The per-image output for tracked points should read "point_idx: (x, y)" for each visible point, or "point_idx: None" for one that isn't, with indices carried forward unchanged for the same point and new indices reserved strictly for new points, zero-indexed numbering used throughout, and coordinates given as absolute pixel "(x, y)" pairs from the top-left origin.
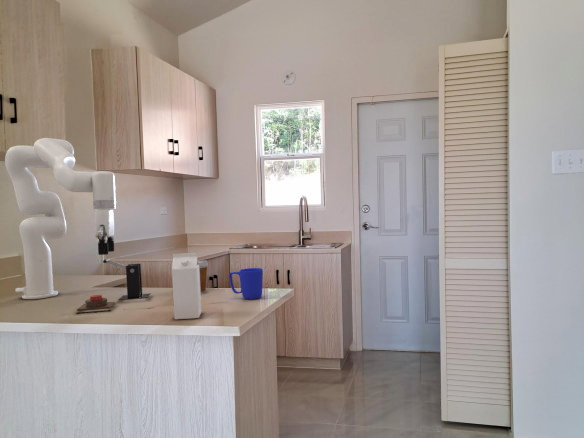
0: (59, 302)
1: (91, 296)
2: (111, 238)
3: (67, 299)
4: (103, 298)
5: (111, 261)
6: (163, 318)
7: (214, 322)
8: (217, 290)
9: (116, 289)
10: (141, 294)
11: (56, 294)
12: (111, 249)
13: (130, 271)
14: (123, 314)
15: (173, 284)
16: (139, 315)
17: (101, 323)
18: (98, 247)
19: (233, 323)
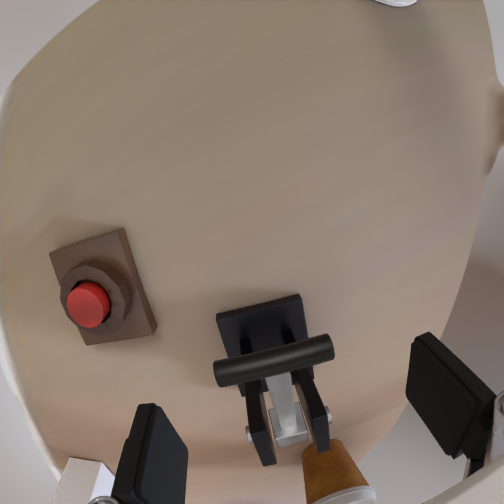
0: (264, 50)
1: (71, 297)
2: (467, 469)
3: (321, 56)
4: (111, 320)
5: (269, 389)
6: (72, 444)
7: None
8: None
9: (465, 183)
10: None
11: (388, 4)
12: (414, 393)
13: (246, 428)
14: (75, 379)
15: (53, 500)
16: (77, 410)
17: (11, 355)
18: (124, 458)
19: None
